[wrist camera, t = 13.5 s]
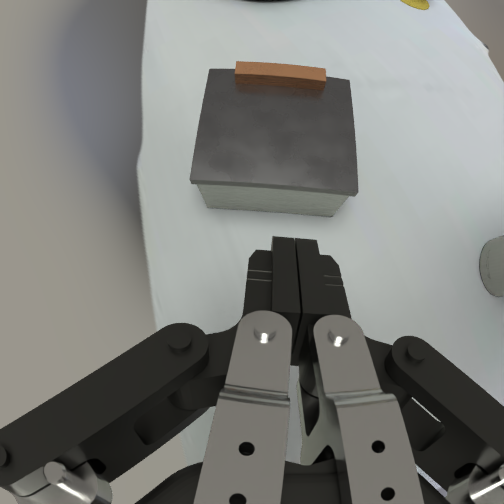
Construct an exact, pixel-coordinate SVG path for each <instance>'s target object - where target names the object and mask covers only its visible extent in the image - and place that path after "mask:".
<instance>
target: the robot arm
mask: <svg viewBox="0 0 504 504" xmlns="http://www.w3.org/2000/svg"><path fill="white" fill-rule="evenodd" d="M480 273H481V277H482V280H483V283H484V285H485V287H486V288H487V290H488V291H489V292H490V293H491V294H493V295H494V296H497V297H502V296H504V235H503V236H500V237H498V238H495V239H492V240H490V241H488V242H487V243H486V244H485V246H484V248H483V250H482V253H481V257H480ZM290 365H294V366H299V378H298V381H297V386H296V387H297V397H298V406H299V414H300V423H301V432H302V448H301V457H300V462H301V465H300V464H296V463H292V462H288V461H285V456H286V446H287V435H288V424H289V412H290V398H288V385H289V372H290ZM412 397H413V398H414V399H416V400H417V401H418V402H419V403H420V404H421V405H422V406H424V407H425V408H426V409H427V410H428V411H429V412H430V413H432V414H433V415H434V416H435V417H436V418H437V419H438V420H439V421H441V422H439V421H437V420H435V419H434V418H433V417H432V416H431V415H430V414H429V413H427V412H426V411H425V410H424V409H423V408H422V407H421V406H420V405H418V404H417V403H416V402H415V401H414V400H413V399H412ZM212 406H216V410H215V414H214V418H213V422H212V427H211V431H210V435H209V440H208V444H207V448H206V452H205V457H204V461H203V462H200V463H196V464H193V465H190V466H187V467H185V468H183V469H181V470H179V471H177V472H176V473H174V474H172V475H171V476H170V477H168V478H167V479H165V480H164V481H163V482H162V483H160V484H159V485H158V486H157V487H155V488H154V489H153V490H152V491H150V492H149V493H148V494H146V495H145V496H144V497H143V498H142V499H140V500H139V501H137V502H136V503H135V504H504V406H502V405H501V404H500V403H499V402H498V401H497V400H495V399H494V398H493V397H492V396H491V395H490V394H488V393H487V392H486V391H485V390H484V389H483V388H481V387H480V386H479V385H478V384H477V383H475V382H474V381H473V380H472V379H471V378H469V377H468V376H467V375H466V374H465V373H463V372H462V371H461V370H460V369H459V368H457V367H456V366H455V365H454V364H453V363H451V362H450V361H449V360H448V359H446V358H445V357H444V356H443V355H442V354H440V353H439V352H438V351H437V350H435V349H434V348H433V347H432V346H430V345H429V344H428V343H427V342H425V341H424V340H422V339H420V338H418V337H414V336H404V337H401V338H399V339H397V340H396V341H395V342H394V344H393V345H389V344H386V343H382V342H378V341H375V340H372V339H370V338H368V337H366V336H364V333H363V331H362V329H361V327H360V326H359V325H358V324H357V323H356V322H355V321H353V320H352V319H351V315H350V310H349V306H348V302H347V297H346V293H345V289H344V287H343V281H342V278H341V273H340V269H339V265H338V264H337V263H336V262H335V260H334V259H333V258H332V257H331V256H330V255H320V254H319V249H318V244H317V240H311V239H300V238H295V240H294V238H287V237H275V236H273V238H272V245H271V251H267V250H256V251H255V252H254V253H253V254H252V255H251V257H250V258H249V263H248V273H247V282H246V291H245V300H244V309H243V315H242V318H241V319H240V321H239V322H238V323H237V324H236V325H235V326H234V327H232V328H231V329H229V330H226V331H223V332H219V333H213V334H207V335H205V333H204V332H203V331H202V330H201V329H200V328H198V327H197V326H194V325H192V324H188V323H175V324H171V325H168V326H166V327H164V328H162V329H161V330H159V331H157V332H156V333H154V334H153V335H151V336H150V337H148V338H146V339H145V340H143V341H142V342H140V343H139V344H137V345H135V346H134V347H132V348H131V349H129V350H128V351H126V352H125V353H123V354H121V355H120V356H118V357H117V358H115V359H114V360H112V361H110V362H109V363H107V364H105V365H104V366H102V367H101V368H99V369H98V370H96V371H94V372H93V373H91V374H89V375H88V376H86V377H85V378H83V379H81V380H80V381H78V382H77V383H75V384H73V385H72V386H70V387H69V388H67V389H65V390H64V391H62V392H61V393H59V394H57V395H56V396H54V397H53V398H51V399H49V400H48V401H46V402H44V403H43V404H41V405H39V406H38V407H36V408H35V409H33V410H32V411H30V412H28V413H26V414H25V415H23V416H22V417H20V418H18V419H17V420H15V421H13V422H12V423H10V424H8V425H7V426H5V427H3V428H2V429H0V487H2V488H4V489H5V490H7V491H9V492H10V493H11V494H12V495H13V496H14V497H15V499H16V501H17V502H18V504H111V502H112V489H111V486H110V485H109V483H110V482H112V481H113V480H115V479H116V478H118V477H119V476H120V475H122V474H123V473H125V472H126V471H128V470H129V469H131V468H132V467H134V466H135V465H136V464H138V463H139V462H140V461H142V460H143V459H145V458H146V457H147V456H149V455H150V454H152V453H153V452H154V451H156V450H157V449H158V448H160V447H161V446H162V445H164V444H165V443H166V442H168V441H169V440H170V439H172V438H173V437H174V436H176V435H177V434H178V433H180V432H181V431H182V430H183V429H185V428H186V427H187V426H188V425H190V424H191V423H192V422H194V421H195V420H196V419H197V418H199V417H200V416H201V415H202V414H203V413H205V412H206V411H207V410H208V409H209V407H212ZM415 464H416V465H417V466H419V467H420V468H421V469H422V470H423V471H424V472H425V473H426V474H428V475H429V476H430V477H431V478H432V479H433V480H434V481H435V482H437V483H438V484H439V485H440V486H441V487H442V488H443V489H445V490H446V491H447V496H446V497H444V496H442V495H441V494H440V493H439V492H438V491H437V490H436V489H435V488H434V487H433V486H432V485H431V484H430V483H429V482H428V481H427V480H426V479H425V478H424V477H423V476H421V475H420V474H419V473H418V472H417V470H416V465H415Z"/></svg>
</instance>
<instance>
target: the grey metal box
mask: <svg viewBox="0 0 504 504" xmlns="http://www.w3.org/2000/svg"><path fill="white" fill-rule="evenodd" d="M197 186H198V188H199V190H200V192H201V195H202V197H203V199H204V201H205V204H206V206H207V208H219V209H235V210H251V211H265V212H278V213H291V214H303V215H315V216H326V217H332V216H333V215H334V214H335V213H336V211H337V210H338V209H339V208H340V207H341V205H342V204H343V203H344V202H345V200H346V199H347V198H348V197H349V196H346V195H336V194H327V193H317V192H306V191H294V190H282V189H269V188H255V187H240V186H222V185H200V184H197Z"/></svg>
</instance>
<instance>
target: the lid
mask: <svg viewBox="0 0 504 504" xmlns="http://www.w3.org/2000/svg"><path fill="white" fill-rule="evenodd" d="M190 181H191V183H192V184H200V185H222V186H240V187H255V188H269V189H282V190H294V191H306V192H317V193H327V194H336V195H346V196H354V197H355V196H356V195H357V193H358V174H357V156H356V141H355V128H354V117H353V107H352V98H351V89H350V81H349V80H346V79H339V78H333V77H326V70H325V69H324V68H316V67H308V66H299V65H289V64H277V63H262V62H239V61H236V68H235V69H210V70H209V74H208V79H207V84H206V89H205V94H204V99H203V104H202V109H201V115H200V120H199V126H198V131H197V137H196V143H195V149H194V155H193V161H192V168H191V174H190Z"/></svg>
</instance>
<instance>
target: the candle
mask: <svg viewBox="0 0 504 504" xmlns="http://www.w3.org/2000/svg"><path fill="white" fill-rule="evenodd" d="M401 1H402V2H404V3H405V4H407V5H409V6H411V7H414V8H417V9H421V10H426V9H428V8H429V4H428V2H427V1H426V0H401Z"/></svg>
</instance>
